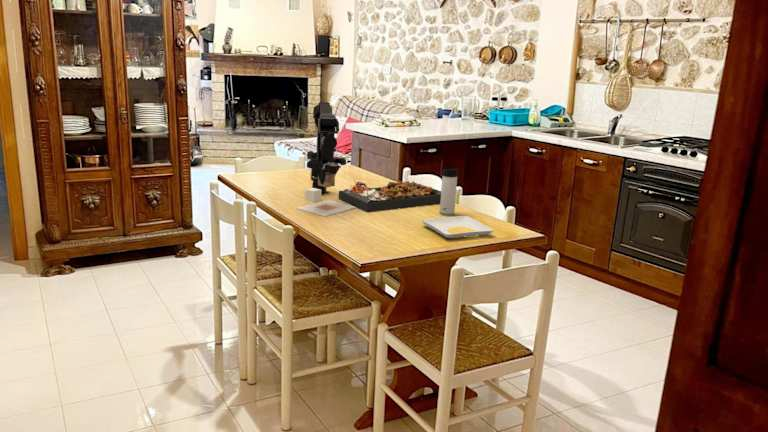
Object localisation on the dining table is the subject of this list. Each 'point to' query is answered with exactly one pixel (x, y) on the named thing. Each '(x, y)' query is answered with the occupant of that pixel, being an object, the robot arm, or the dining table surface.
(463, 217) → the salad plate
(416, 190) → the food platter
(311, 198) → the offwhite cube
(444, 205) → the travel mug
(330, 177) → the walnut cube
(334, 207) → the blueprint board
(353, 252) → the dining table surface
